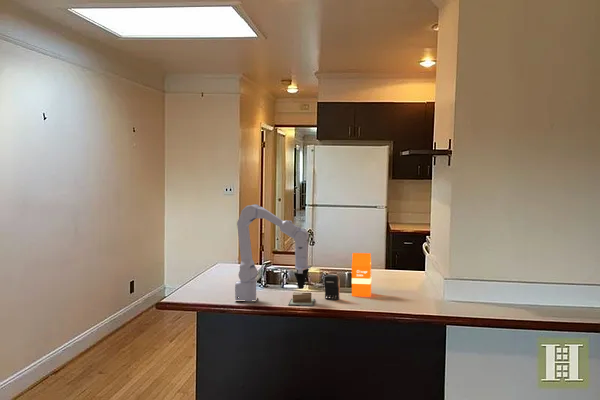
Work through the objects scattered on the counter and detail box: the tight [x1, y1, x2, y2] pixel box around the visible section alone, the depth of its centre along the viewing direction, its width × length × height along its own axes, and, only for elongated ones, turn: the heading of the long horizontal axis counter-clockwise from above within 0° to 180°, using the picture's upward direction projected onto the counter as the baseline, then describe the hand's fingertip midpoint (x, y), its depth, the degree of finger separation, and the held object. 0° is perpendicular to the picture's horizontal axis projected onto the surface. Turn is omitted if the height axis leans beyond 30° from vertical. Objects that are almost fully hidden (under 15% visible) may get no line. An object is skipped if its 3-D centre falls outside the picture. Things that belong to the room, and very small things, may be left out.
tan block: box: [292, 291, 312, 303], centre depth 234 cm, size 4×8×4 cm, turn 84°
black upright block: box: [323, 273, 341, 301], centre depth 240 cm, size 7×4×11 cm, turn 64°
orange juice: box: [351, 252, 372, 298], centre depth 249 cm, size 8×9×20 cm
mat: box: [288, 298, 316, 307], centre depth 234 cm, size 11×11×1 cm
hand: (301, 286), depth 234 cm, fingers open, 7 cm apart
